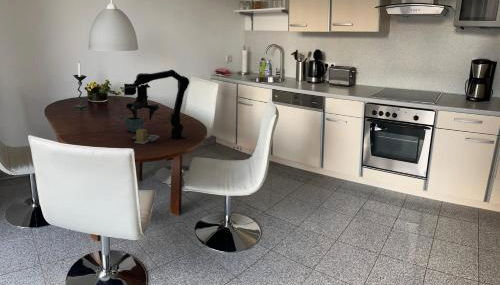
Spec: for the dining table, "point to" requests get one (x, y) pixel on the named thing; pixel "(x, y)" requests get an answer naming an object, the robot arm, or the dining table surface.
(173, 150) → the dining table surface
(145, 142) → the pad
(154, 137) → the grey flat frame
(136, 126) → the flower pot
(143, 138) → the brown wooden block
